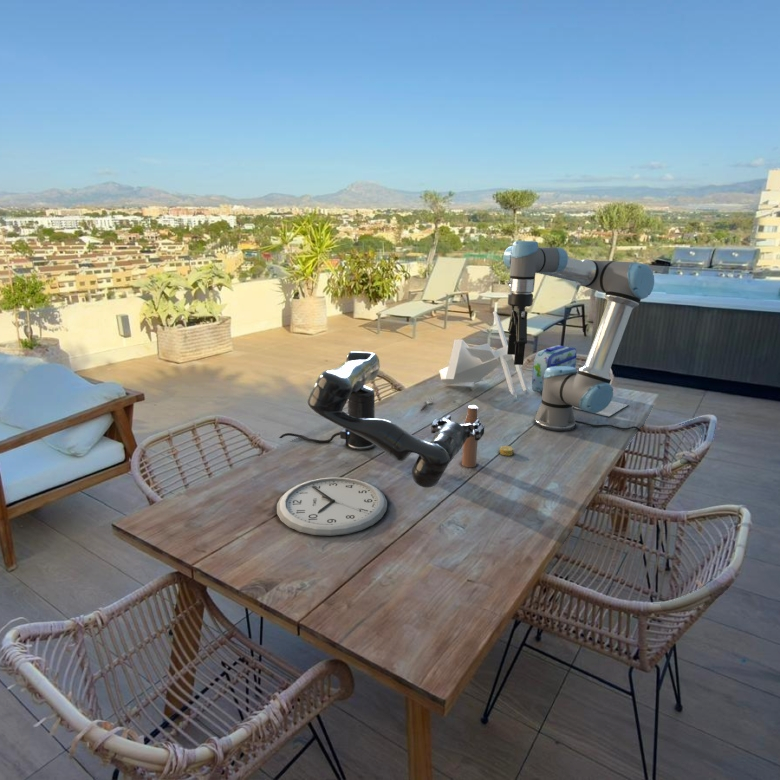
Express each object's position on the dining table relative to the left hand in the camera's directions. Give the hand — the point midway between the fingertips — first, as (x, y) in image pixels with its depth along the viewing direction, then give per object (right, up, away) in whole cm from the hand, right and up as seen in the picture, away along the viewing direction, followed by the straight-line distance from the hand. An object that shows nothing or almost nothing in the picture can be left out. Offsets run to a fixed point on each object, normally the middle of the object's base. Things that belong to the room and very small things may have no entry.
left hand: (463, 420), depth 153 cm
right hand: (+19, +19, +15) cm, 30 cm away
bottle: (+4, -15, +16) cm, 22 cm away
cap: (+18, -11, +24) cm, 32 cm away
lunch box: (+55, +9, +95) cm, 110 cm away
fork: (-6, +2, +70) cm, 70 cm away
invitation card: (+70, +1, +73) cm, 101 cm away
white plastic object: (+20, +8, +90) cm, 93 cm away
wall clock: (-37, -23, -10) cm, 45 cm away
